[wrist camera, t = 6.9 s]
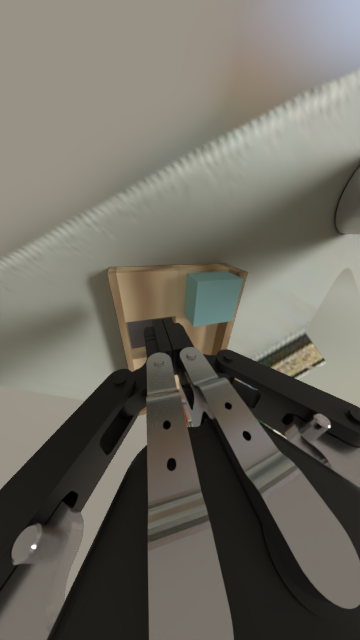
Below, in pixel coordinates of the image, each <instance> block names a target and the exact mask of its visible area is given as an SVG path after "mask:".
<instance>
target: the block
mask: <svg viewBox="0 0 360 640" xmlns="http://www.w3.org/2000/svg"><path fill="white" fill-rule="evenodd" d="M242 283H243V278H240V277H238V276H236V275H234V274H232V273H229V272H227V271H226V272H204V273H187V279H186V295H185V311H184V314H185V315H186V317H187V318H188V320H189V321H190V323H191V324H192V326H193V327H196V326H202V325H209V324H215V323H222V322H228V321H232V320H233V317H234V313H235V309H236V305H237V302H238V298H239V294H240V290H241V287H242Z"/></svg>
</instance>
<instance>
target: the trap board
mask: <svg viewBox="0 0 360 640" xmlns="http://www.w3.org/2000/svg"><path fill="white" fill-rule="evenodd" d="M226 271H227V272H229V273H232V274H234V275H236V276H238V277H240V278H243V283H242V287H241V290H240V294H239V298H238V302H237V305H236V309H235V313H234V317H233V320H232V321H228V322H222V323H215V324H209V325H202V326H196V327H193V326H192V324H191V323H190V321H189V320H188V318H187V317H186V315H185V314H184V311H185V295H186V279H187V273H204V272H226ZM247 273H248V272H245V271H243V270H240V269H237V268H235V267H232V266H230V265H227V264H198V265H166V266H134V267H109V270H108V273H107V274H108V278H109V283H110V287H111V292H112V296H113V301H114V305H115V310H116V315H117V319H118V324H119V328H120V333H121V337H122V342H123V346H124V351H125V355H126V360H127V364H128V369H129V370H130V371H132V372H133V371H135V370H137V369H139V368H140V367H142V366H143V365H144V364H145V362H146V360H147V355H146V347H145V339H144V330H145V328H146V327H151V326H152V320H154V319H162V318H170V317H171V318H172V320H173V322H174V323H180V324H181V325H182V326H183V327H184V329H185V331H186V332H187V335H188V336H189V338H190V340H191V342H192V344H193V345H194V347H195V348H197V349H199V350H200V351H201V352H202V354H206V355H217V353H218V351H220V350H224V349H227V346H228V343H229V339H230V335H231V332H232V328H233V324H234V321H235V317H236V313H237V310H238V306H239V303H240V299H241V295H242V292H243V288H244V284H245V281H246V277H247ZM174 376H175V381H176V386H177V390H179V392H180V396H181V400H182V402H185V400H184V397H183V395H182V392H181V390H180V387H179V378H178V375H174ZM146 413H147V412H146V407H145V408H144V409H142V410H141V411H140V413H139V415H142V414H146ZM139 415H138V416H139Z"/></svg>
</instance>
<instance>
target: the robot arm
mask: <svg viewBox="0 0 360 640" xmlns="http://www.w3.org/2000/svg"><path fill="white" fill-rule="evenodd" d="M336 227H337V229H338V231H339V232H340V233H342V234H360V167H359V168H358V169H357V171H356V172H355V173H354V175H353V177H352V178H351V180H350V181H349V183H348V185H347V187H346V188H345V190H344V192H343V195H342V197H341V199H340V202H339V205H338V208H337V213H336ZM144 339H145V347H146V355H147V360H146V362H145V364H144V365H143V366H142V367H140V368H139V369H137V370H135V371H133V372H132V371H130V370H128V369H120V370H117V371H115V372H113V373H112V374H110V375H109V376H108V377H107V379H106V380H105V381H104V382H103V383H102V384H101V385H100V386H99V387H98V388H97V389H96V390H95V391H94V392H93V393H92V394H91V395H90V396H89V397H88V398H87V399H86V401H85V402H84V403H83V404H82V405H81V406H80V407H79V408H78V409H77V410H76V411H75V412H74V413H73V414H72V415H71V416H70V417H69V418H68V419H67V420H66V421H65V423H64V424H63V425H62V426H61V427H60V428H59V429H58V430H57V431H56V432H55V433H54V434H53V435H52V436H51V437H50V439H48V440H47V441H46V442H45V444H44V445H43V446H42V447H41V448H40V449H39V450H38V451H37V452H36V453H35V454H34V455H33V456H32V457H31V458H30V459H29V460H28V461H27V462H26V463H25V464H24V466H23V467H22V468H21V469H20V470H19V471H18V472H17V473H16V474H15V475H14V476H13V477H12V478H11V479H10V480H9V481H8V482H7V483H6V484H5V485H4V486H3V488H2V489H1V490H0V640H360V408H359V407H357V406H355V405H353V404H351V403H349V402H346V401H344V400H342V399H340V398H337V397H335V396H333V395H331V394H328V393H326V392H324V391H322V390H319V389H317V388H315V387H313V386H310V385H308V384H306V383H303V382H301V381H299V380H297V379H294V378H292V377H290V376H288V375H285V374H283V373H281V372H279V371H276V370H274V369H272V368H270V367H267V366H265V365H263V364H261V363H258V362H256V361H254V360H252V359H249V358H247V357H245V356H243V355H240V354H238V353H236V352H233V351H231V350H227V349H224V350H220V351H218V353H217V355H206V354H202V352H201V351H200V350H199V349H197V348H195V347H194V345H193V344H192V342H191V340H190V338H189V336H188V335H187V332H186V331H185V329H184V327H183V326H182V325H181V324H180V323H174V322H173V320H172V318H171V317H170V318H162V319H154V320H152V326H151V327H146V328H145V330H144ZM174 375H178V378H179V387H180V390H181V392H182V395H183V397H184V400H185V402H186V405H187V407H188V410H189V412H190V415H191V421H192V425H193V427H187V423H186V419H185V414H184V409H183V405H182V400H181V396H180V392H179V390H177V386H176V381H175V376H174ZM235 378H236V379H238V380H240V381H242V382H244V383H246V384H248V385H250V386H251V387H253V388H255V389H257V390H254V389H252V388H250V387H248V386H247V385H245V384H243V383H241V382H239V381H237V380H235ZM145 407H146V412H147V445H146V446H145V447H144V448H143V449H142V450H141V451H140V452H139V453H138V454H137V456H136V457H135V459H134V460H133V461H132V463H131V465H130V466H129V468H128V470H127V472H126V474H125V476H124V478H123V480H122V482H121V484H120V486H119V489H118V490H117V493H116V495H115V497H114V499H113V501H112V503H111V505H110V507H109V510H108V512H107V514H106V516H105V518H104V520H103V522H102V524H101V526H100V528H99V531H98V533H97V535H96V537H95V539H94V541H93V543H92V545H91V547H90V549H89V551H88V554H87V556H86V558H85V560H84V562H83V564H82V566H81V568H80V570H79V573H78V575H77V577H76V579H75V581H74V583H73V585H72V587H71V590H70V591H69V594H68V596H67V598H66V600H65V602H64V597H65V588H66V583H67V579H68V575H69V572H70V569H71V566H72V564H73V561H74V559H75V556H76V554H77V552H78V550H79V547H80V544H81V540H82V536H83V528H84V524H83V517H82V515H81V513H80V512H81V511H82V509H83V507H84V506H85V504H86V502H87V501H88V499H89V497H90V496H91V494H92V492H93V490H94V489H95V487H96V485H97V484H98V482H99V480H100V479H101V477H102V475H103V474H104V472H105V470H106V469H107V467H108V465H109V463H110V462H111V460H112V459H113V457H114V455H115V454H116V452H117V450H118V448H119V447H120V445H121V444H122V442H123V440H124V438H125V437H126V435H127V433H128V432H129V430H130V428H131V427H132V425H133V423H134V422H135V420H136V418H137V417H138V415H139V413H140V411H141V410H142V409H144V408H145ZM256 418H257V419H258V420H260V421H261V422H263V423H265V424H266V425H268V426H270V427H271V428H273V429H274V430H276V431H278V432H279V433H281V434H282V435H284V436H286V438H287V439H285V438H284V437H282V436H281V435H279V434H277V433H276V432H274V431H273V430H271V429H270V428H268V427H267V426H265V425H264V424H262V423H261V422H259V421H257V419H256Z"/></svg>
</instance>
